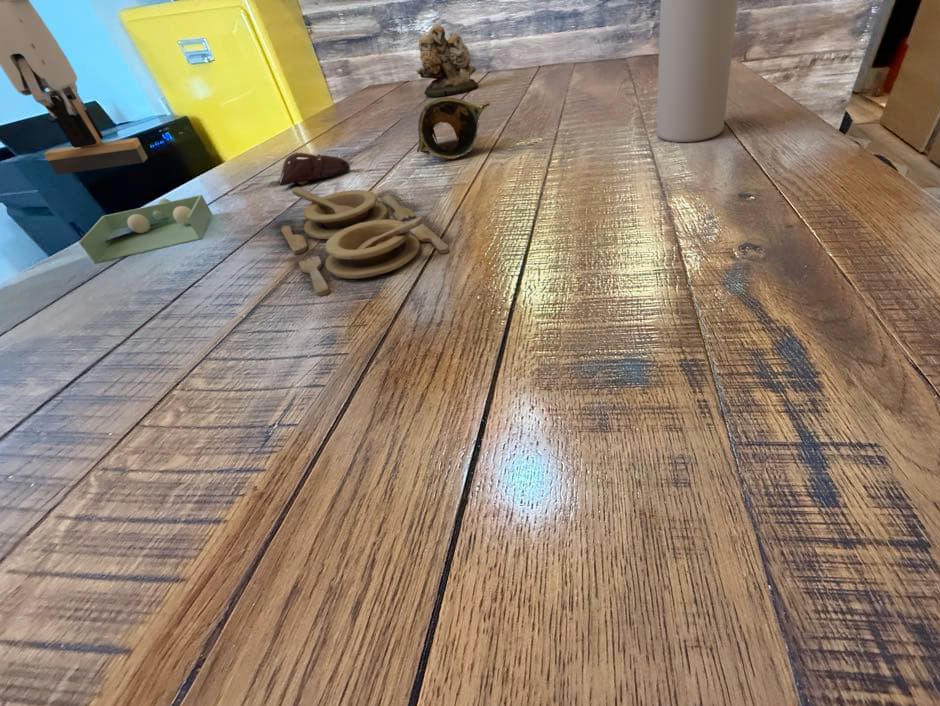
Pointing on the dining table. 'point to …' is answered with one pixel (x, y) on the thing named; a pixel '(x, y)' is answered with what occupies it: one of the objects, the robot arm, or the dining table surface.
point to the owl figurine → (445, 64)
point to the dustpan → (154, 236)
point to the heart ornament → (310, 168)
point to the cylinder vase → (694, 67)
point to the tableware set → (358, 235)
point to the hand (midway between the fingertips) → (88, 142)
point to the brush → (94, 151)
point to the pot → (455, 114)
